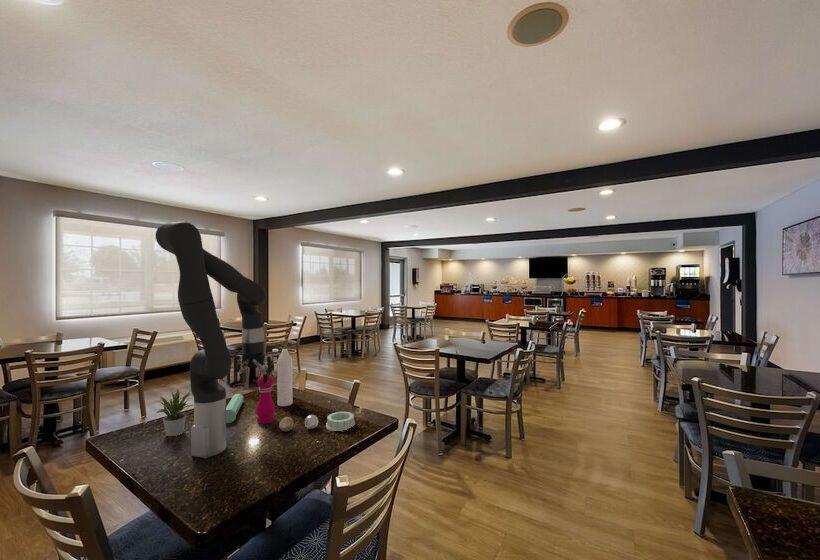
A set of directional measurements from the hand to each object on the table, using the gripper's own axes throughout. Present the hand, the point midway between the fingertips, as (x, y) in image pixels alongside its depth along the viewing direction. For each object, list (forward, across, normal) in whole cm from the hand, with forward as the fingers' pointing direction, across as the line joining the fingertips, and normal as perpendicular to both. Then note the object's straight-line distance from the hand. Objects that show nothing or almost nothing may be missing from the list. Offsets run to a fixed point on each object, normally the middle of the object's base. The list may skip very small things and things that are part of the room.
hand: (254, 383), depth 130 cm
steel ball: (+19, +19, +4) cm, 27 cm away
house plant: (+18, -28, -5) cm, 33 cm away
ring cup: (+19, +30, +8) cm, 36 cm away
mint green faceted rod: (+20, -20, +18) cm, 34 cm away
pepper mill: (+19, -2, +10) cm, 22 cm away
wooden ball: (+18, +11, +2) cm, 21 cm away
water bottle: (+20, -4, +29) cm, 35 cm away
